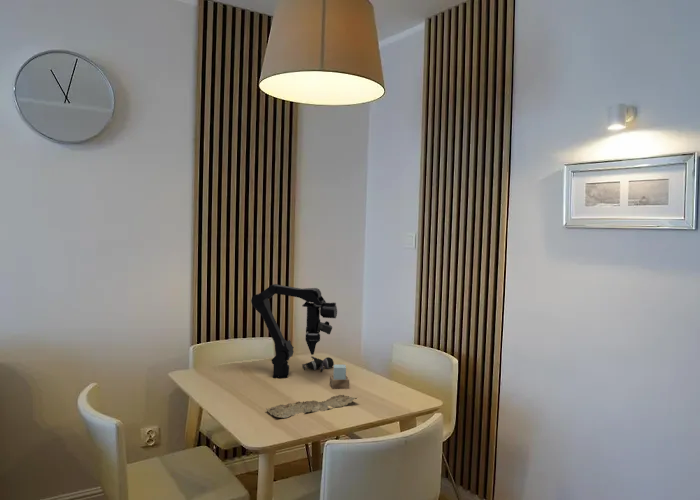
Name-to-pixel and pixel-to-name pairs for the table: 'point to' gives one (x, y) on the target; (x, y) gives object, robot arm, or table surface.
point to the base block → (339, 383)
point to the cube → (339, 372)
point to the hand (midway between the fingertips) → (312, 352)
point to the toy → (319, 363)
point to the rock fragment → (309, 406)
